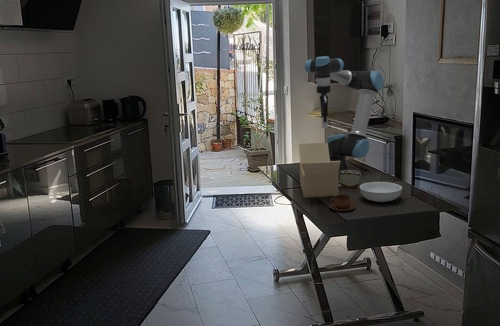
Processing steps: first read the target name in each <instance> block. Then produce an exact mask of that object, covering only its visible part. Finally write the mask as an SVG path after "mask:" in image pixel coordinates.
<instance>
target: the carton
mask: <svg viewBox="0 0 500 326" xmlns="http://www.w3.org/2000/svg"><path fill="white" fill-rule="evenodd" d="M305 164H306V163H300V162H299V185H300V187H301V191H302V195H303V198H305V199H307V198H328V197H327V196H337V195H339V174H338V175H331V176H307V177H304V175H305Z"/></svg>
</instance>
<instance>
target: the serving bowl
mask: <svg viewBox="0 0 500 326" xmlns="http://www.w3.org/2000/svg"><path fill="white" fill-rule="evenodd" d="M402 191H403V186H401V185H400V184H397V183H394V182H387V181H372V182H371V181H370V182H363V183H362V184H359V192H360V195H362V196H363V198H365V199H366V200H368V201H372V202H376V203H387V202H392V201H394V200H397V199H398V198H399V197H400V196H401V194H402Z"/></svg>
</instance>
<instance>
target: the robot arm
mask: <svg viewBox="0 0 500 326" xmlns="http://www.w3.org/2000/svg"><path fill="white" fill-rule="evenodd" d="M344 64H345V63H344V61H343V60H342V59H341V58H336V57H335V58H330V56H328V55H326V56H316V58H315V59H313V58H312V59H307V60H306V61H305V63H304V69H305V72H306V73H308V74H309V73H310V74H315V75H316V76H315V77H316V79H315V80H314V81H315V82H316V93H317V94H320V95H319V100H320V101H319V103H320V112H321V113H320V115H321V116H320V117H321V125H322V129H328V116H329V114H328V113H329V107H328V105H329V96H328V95H327V93H328V94H329V93H331V89H332V88H331V80H332V81H335V82H338V83H339V85H341V86H343V87H346V88H349V89H352V90H355V91H358V93H359V97H358V100H357V101H358V102H357V105H356V109H355V115H354V119H353V124H352V127H351V131H350V132H348V133H347V136H346V134H345V133H340V134H339V133H338V134H331V135H328V136H327V138H326V143H328V149H329V157H330V161H340V167H339V171H338V174H339V172H340V171H342V170H350V169H349V167H350V166H349V165H348V164H349V163H348V161H347V159H346V158H347V157H349V158H351V157H352V158H356V159H362V158H364V157H365V156H366V155H368V152H369V150H370V141H369V140H368V136H367V135H366V134H367V130H368V125H369V121H370V117H371V113H372V108H373V103H374V99H375V97H376V96H377V95H378V93H379V92H380V91H381V90H382V89H383V87H384V82H385V81H384V77H383V74H382V73H381V72H380V71H376V70H357V71H356V70H354V71H353V70H352V71H350V70H348V69H345V70H343V69H344V68H345V67H344V66H345V65H344Z"/></svg>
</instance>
